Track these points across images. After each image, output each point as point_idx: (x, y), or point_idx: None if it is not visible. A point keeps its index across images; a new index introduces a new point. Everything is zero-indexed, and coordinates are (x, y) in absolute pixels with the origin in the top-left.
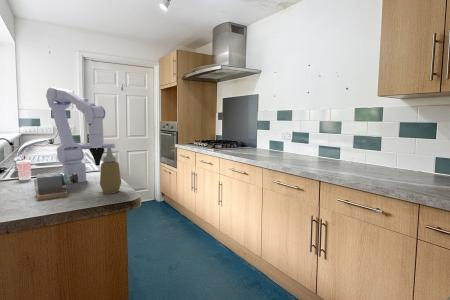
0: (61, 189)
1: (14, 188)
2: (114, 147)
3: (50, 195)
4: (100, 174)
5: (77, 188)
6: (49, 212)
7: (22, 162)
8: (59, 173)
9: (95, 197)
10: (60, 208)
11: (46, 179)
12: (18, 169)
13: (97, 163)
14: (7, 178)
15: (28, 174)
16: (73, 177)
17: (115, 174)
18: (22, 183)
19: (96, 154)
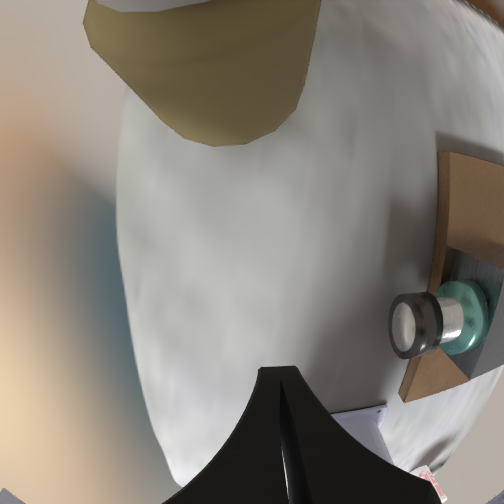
0: (458, 244)
1: (483, 389)
2: (3, 492)
3: (491, 163)
4: (311, 48)
5: (375, 303)
6: (457, 10)
7: (440, 499)
8: (485, 345)
9: (329, 40)
10: (440, 15)
11: None
12: (438, 485)
13: (289, 378)
14: None
15: None
16: (436, 303)
17: None
18: (445, 437)
19: (328, 469)
